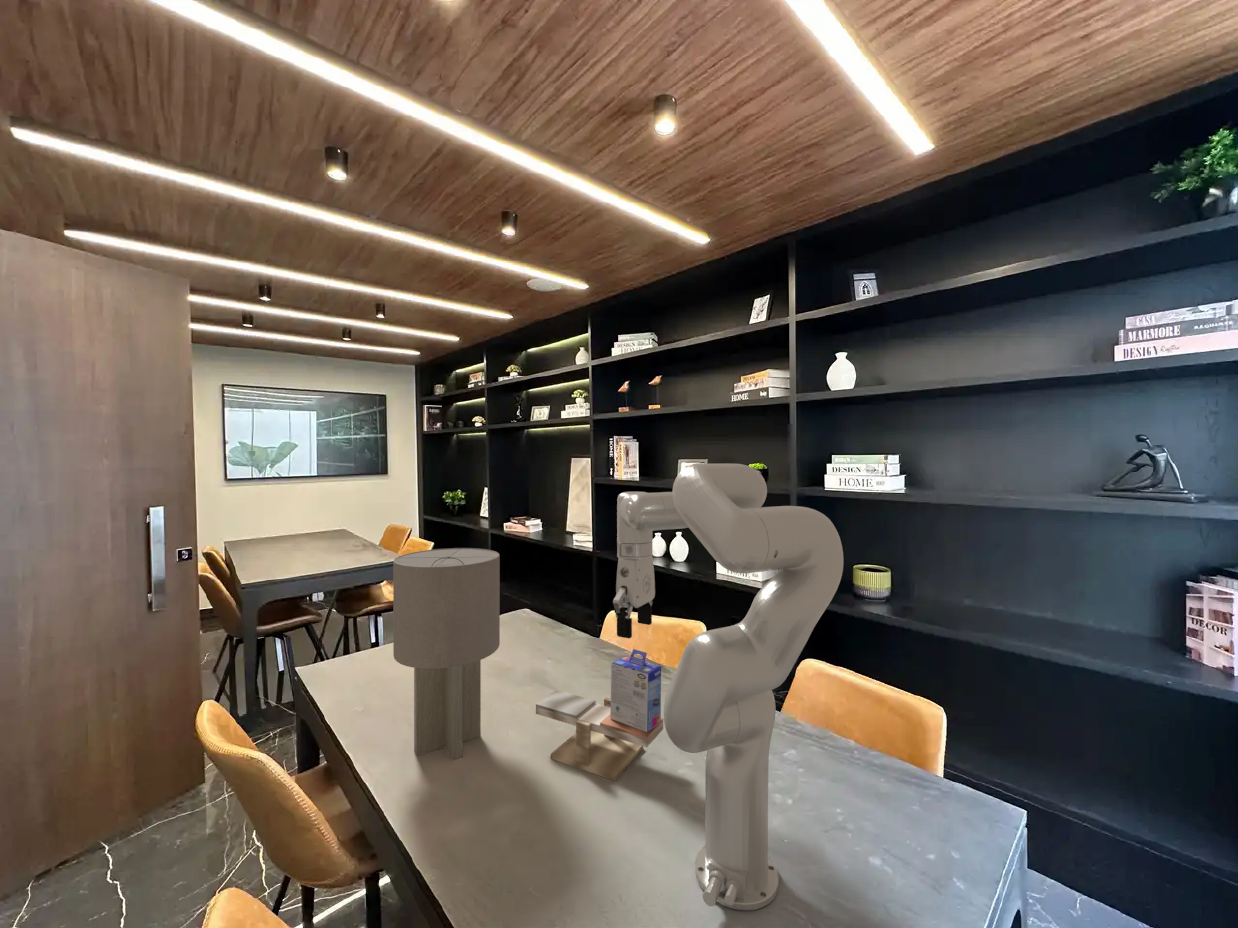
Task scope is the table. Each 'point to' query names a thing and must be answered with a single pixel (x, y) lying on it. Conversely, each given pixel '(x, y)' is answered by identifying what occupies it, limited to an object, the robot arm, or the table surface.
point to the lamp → (446, 639)
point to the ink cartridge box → (636, 692)
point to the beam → (592, 717)
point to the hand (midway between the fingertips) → (634, 630)
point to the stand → (596, 751)
